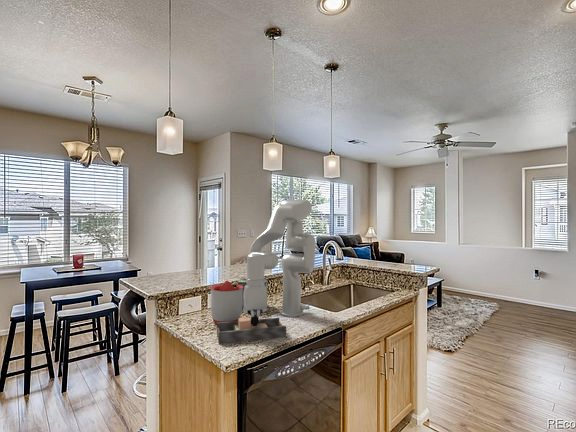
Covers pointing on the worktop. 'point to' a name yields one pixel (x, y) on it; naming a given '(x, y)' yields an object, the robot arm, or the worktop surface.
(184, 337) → the worktop surface
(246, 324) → the terracotta block
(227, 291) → the citrus juicer
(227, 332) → the box
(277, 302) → the worktop surface
